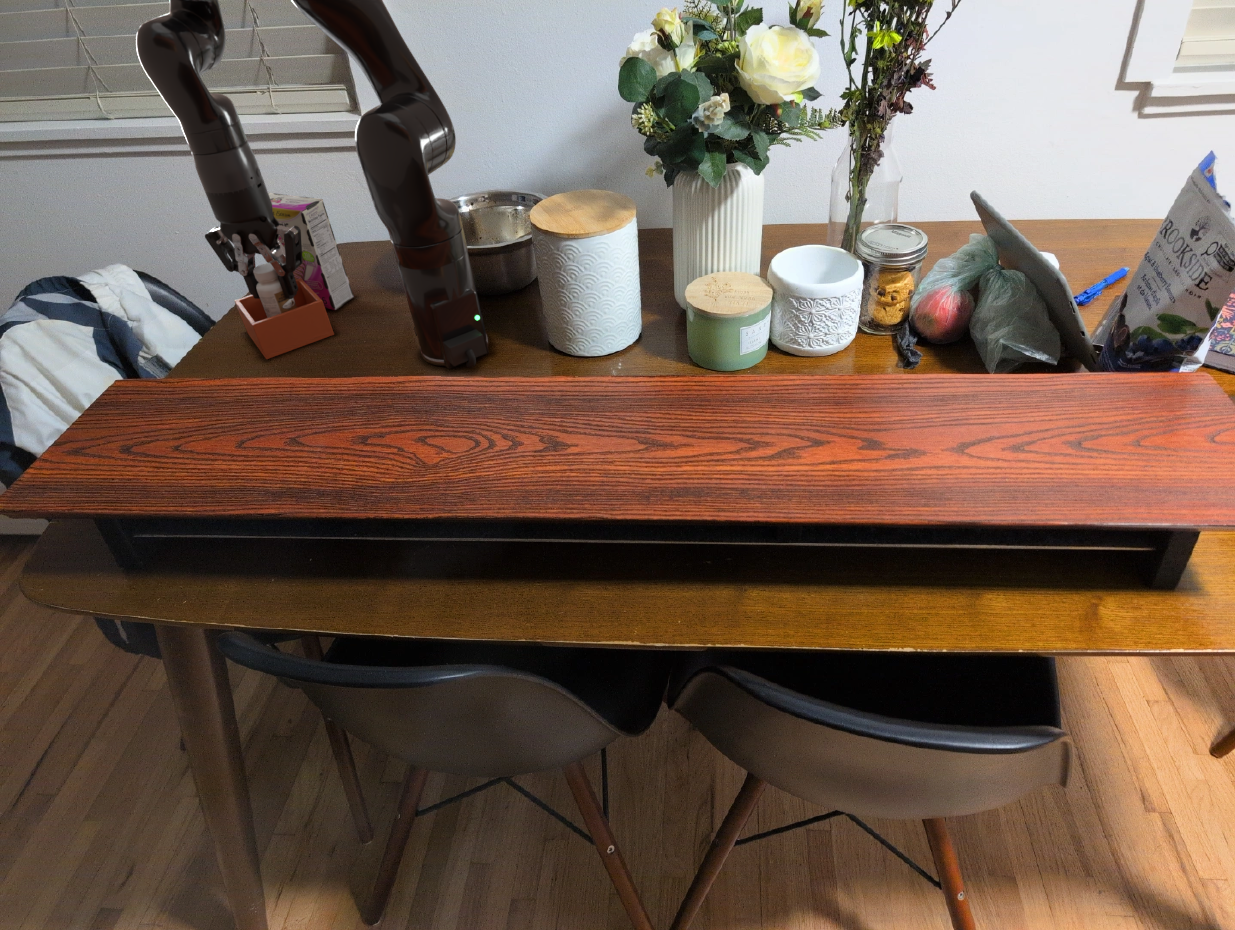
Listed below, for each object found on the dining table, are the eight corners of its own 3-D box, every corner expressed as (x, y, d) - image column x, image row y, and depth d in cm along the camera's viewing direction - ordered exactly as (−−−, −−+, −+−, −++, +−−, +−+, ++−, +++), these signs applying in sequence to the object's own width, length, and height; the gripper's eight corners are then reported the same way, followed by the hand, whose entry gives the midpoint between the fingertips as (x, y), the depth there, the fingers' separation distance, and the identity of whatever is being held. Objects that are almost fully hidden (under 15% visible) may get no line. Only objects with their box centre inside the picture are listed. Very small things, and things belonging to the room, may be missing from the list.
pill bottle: (293, 322, 123) (275, 273, 118) (264, 324, 124) (244, 275, 119) (302, 307, 127) (285, 259, 122) (274, 310, 127) (256, 262, 122)
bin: (334, 334, 125) (322, 300, 122) (266, 359, 122) (252, 325, 118) (312, 310, 132) (301, 277, 129) (247, 333, 128) (233, 300, 125)
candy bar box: (281, 303, 136) (243, 203, 125) (302, 289, 139) (267, 191, 129) (335, 312, 131) (300, 209, 121) (355, 297, 135) (323, 196, 125)
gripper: (168, 192, 111) (219, 308, 122) (266, 189, 108) (308, 309, 119) (201, 171, 117) (246, 284, 127) (294, 168, 114) (332, 284, 125)
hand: (276, 295), depth 123 cm, fingers closed on pill bottle, 4 cm apart
